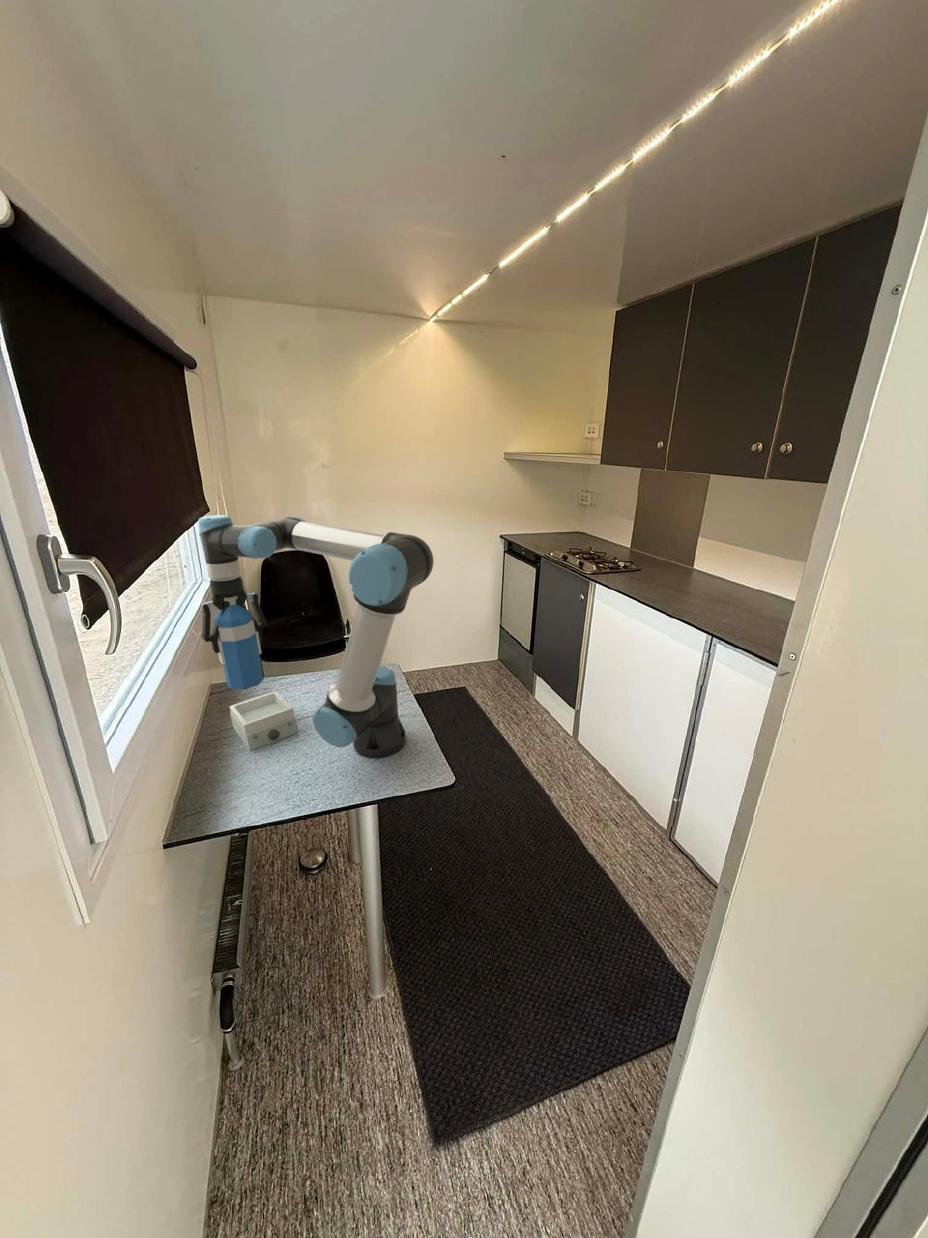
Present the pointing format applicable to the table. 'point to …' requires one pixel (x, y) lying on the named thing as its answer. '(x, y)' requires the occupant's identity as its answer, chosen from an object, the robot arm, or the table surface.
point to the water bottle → (239, 646)
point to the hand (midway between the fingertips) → (241, 657)
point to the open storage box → (263, 720)
